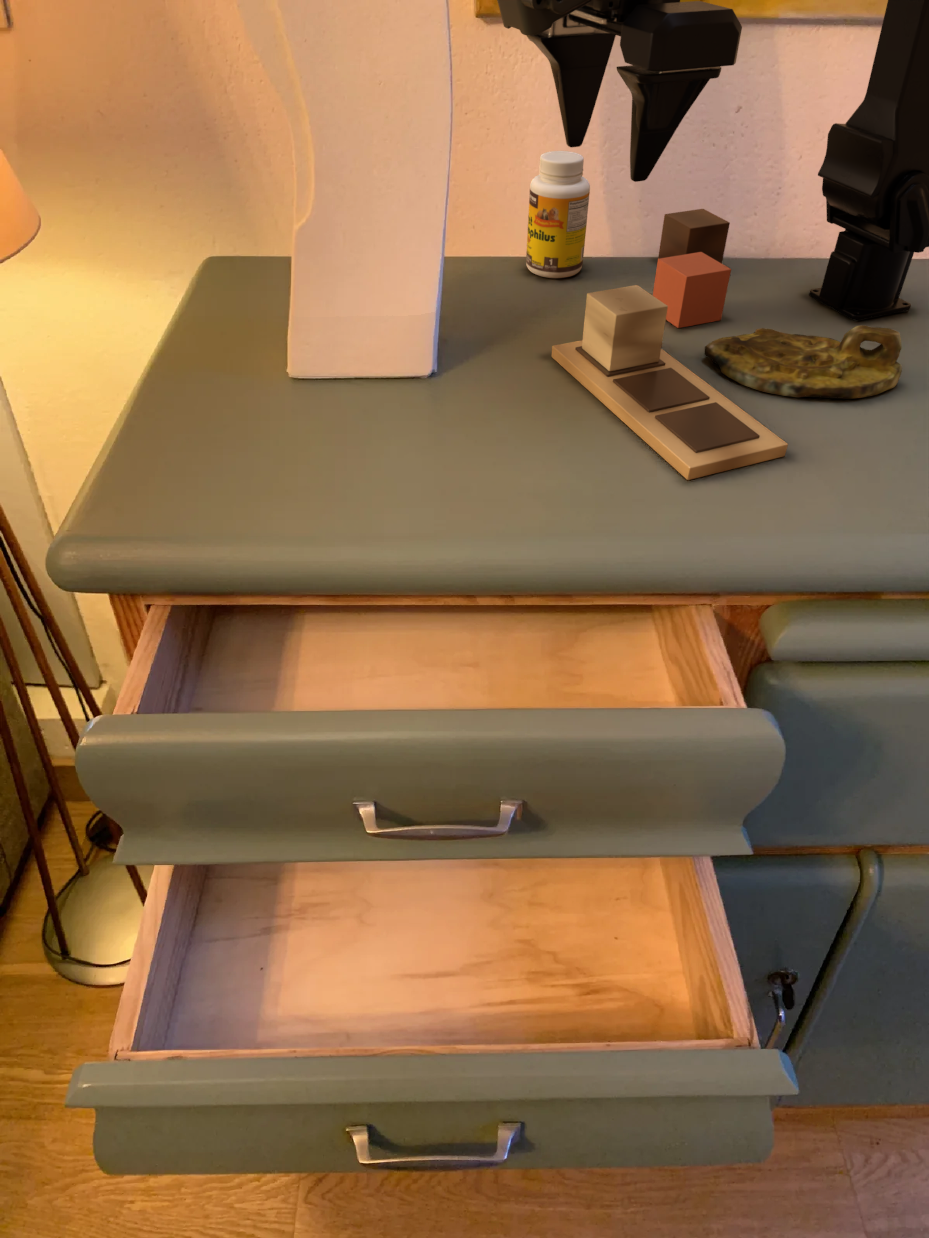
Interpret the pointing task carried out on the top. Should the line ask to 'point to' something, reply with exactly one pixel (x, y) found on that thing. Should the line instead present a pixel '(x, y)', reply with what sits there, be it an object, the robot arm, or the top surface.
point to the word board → (660, 388)
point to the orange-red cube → (691, 288)
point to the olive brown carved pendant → (811, 362)
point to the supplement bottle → (557, 216)
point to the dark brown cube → (693, 234)
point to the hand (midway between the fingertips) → (604, 163)
